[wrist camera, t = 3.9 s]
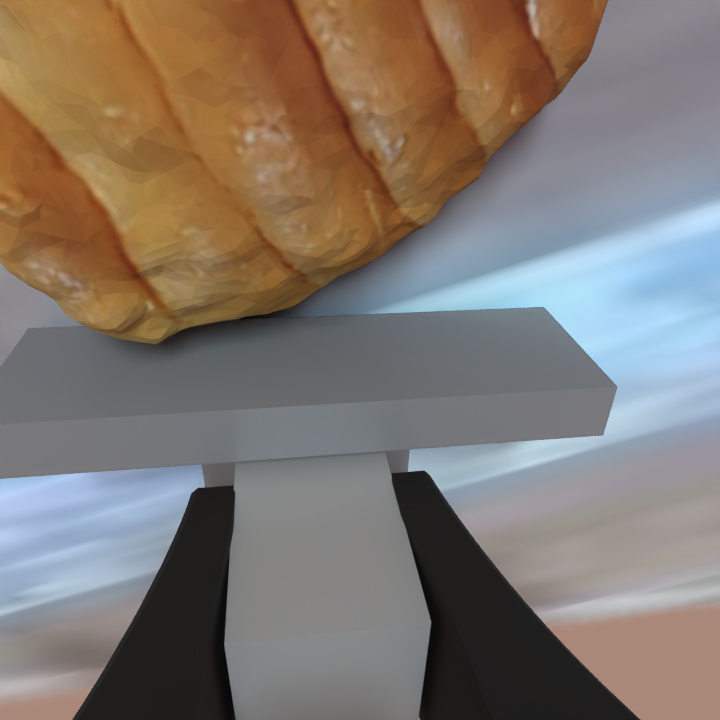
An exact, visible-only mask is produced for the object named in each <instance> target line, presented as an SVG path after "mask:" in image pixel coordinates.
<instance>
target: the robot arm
mask: <svg viewBox="0 0 720 720" xmlns="http://www.w3.org/2000/svg"><path fill="white" fill-rule="evenodd" d="M391 476H392V479H391V480H392V484H393V488H394V492H395V495H396V499H397V503H398V506H399V510H400V514H401V517H402V520H403V522H404V525H405V527H406V531H407V534H408V538H409V542H410V546H411V549H412V553H413V557H414V560H415V564H416V568H417V571H418V575H419V579H420V582H421V586H422V590H423V593H424V597H425V601H426V604H427V608H428V612H429V615H430V619H431V628H430V636H429V643H428V651H427V658H426V666H425V673H424V681H423V688H422V696H421V703H420V711H419V718H420V720H640V719H639V718H638V717H637V716H636V715H635V714H634V713H633V712H632V711H630V710H629V709H628V708H627V707H626V706H625V705H624V704H623V703H622V702H621V701H620V700H619V699H618V698H617V697H616V696H615V695H613V694H612V693H611V692H610V691H609V690H608V689H607V688H606V687H605V686H604V685H603V684H602V683H601V682H600V681H599V680H598V679H597V678H596V677H595V676H594V675H593V674H592V673H591V672H590V671H589V670H588V669H587V668H586V667H585V666H584V665H583V664H582V663H581V662H580V661H579V660H578V659H577V658H576V657H575V656H574V655H573V654H572V653H571V652H570V651H569V650H568V649H567V648H566V647H565V646H564V645H563V643H562V642H561V641H560V640H559V639H558V638H557V637H556V636H555V635H554V634H553V633H552V632H551V631H550V629H549V628H548V627H547V626H546V625H545V624H544V623H543V622H542V621H541V619H540V618H539V617H538V616H537V615H536V614H535V613H534V612H533V610H532V609H531V608H530V607H529V606H528V605H527V604H526V603H525V601H524V600H523V599H522V598H521V597H520V596H519V594H518V593H517V592H516V591H515V590H514V588H513V587H512V586H511V585H510V584H509V582H508V581H507V580H506V579H505V578H504V576H503V575H502V574H501V573H500V571H499V570H498V569H497V568H496V566H495V565H494V564H493V563H492V561H491V560H490V559H489V558H488V556H487V555H486V554H485V553H484V551H483V550H482V549H481V547H480V546H479V545H478V543H477V542H476V541H475V540H474V538H473V537H472V536H471V534H470V533H469V531H468V530H467V529H466V527H465V526H464V525H463V523H462V522H461V521H460V519H459V518H458V516H457V515H456V514H455V512H454V511H453V509H452V508H451V506H450V505H449V504H448V502H447V501H446V499H445V498H444V496H443V495H442V493H441V492H440V490H439V489H438V487H437V486H436V484H435V483H434V481H433V480H432V478H431V476H430V475H429V474H428V473H426V472H425V471H415V472H402V473H391ZM234 507H235V491H234V485H231V486H218V487H205V488H197V489H196V490H195V491H194V492H193V493H192V494H191V497H190V499H189V502H188V505H187V508H186V511H185V513H184V516H183V518H182V521H181V523H180V526H179V528H178V530H177V533H176V535H175V537H174V539H173V542H172V544H171V546H170V548H169V550H168V552H167V555H166V557H165V559H164V561H163V563H162V565H161V567H160V569H159V571H158V573H157V575H156V577H155V579H154V581H153V583H152V585H151V587H150V589H149V591H148V593H147V594H146V596H145V598H144V600H143V602H142V604H141V606H140V608H139V610H138V612H137V614H136V615H135V617H134V619H133V621H132V623H131V624H130V626H129V628H128V629H127V631H126V633H125V635H124V636H123V638H122V640H121V641H120V643H119V645H118V647H117V648H116V650H115V652H114V653H113V655H112V657H111V659H110V660H109V662H108V664H107V666H106V667H105V669H104V671H103V672H102V674H101V676H100V677H99V679H98V680H97V682H96V684H95V685H94V687H93V688H92V690H91V692H90V693H89V695H88V696H87V698H86V699H85V701H84V703H83V704H82V706H81V707H80V709H79V710H78V712H77V713H76V715H75V717H74V718H73V720H236V719H235V712H234V706H233V699H232V692H231V686H230V679H229V673H228V666H227V659H226V653H225V646H224V642H225V626H226V609H227V593H228V576H229V559H230V546H231V540H232V535H233V525H234Z"/></svg>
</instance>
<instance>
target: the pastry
mask: <svg viewBox="0 0 720 720" xmlns="http://www.w3.org/2000/svg"><path fill="white" fill-rule="evenodd" d="M607 1H608V0H0V262H1V264H2V265H3V266H4V267H5V268H6V269H7V271H8V272H10V273H11V274H13V275H14V276H16V277H17V278H19V279H20V280H21V281H23V282H24V283H26V284H27V285H29V286H31V287H33V288H35V289H37V290H39V291H41V292H43V293H45V294H46V295H48V296H49V297H51V298H52V299H54V300H55V301H56V302H57V303H58V305H59V306H60V307H61V309H62V310H63V311H64V313H65V314H66V315H68V316H70V317H71V318H73V319H75V320H76V321H78V322H80V323H81V324H83V325H85V326H86V327H88V328H90V329H92V330H94V331H96V332H99V333H102V334H106V335H109V336H112V337H114V338H116V339H121V340H128V341H136V342H143V343H150V344H157V343H159V342H161V341H163V340H164V339H166V338H167V337H169V336H171V335H173V334H175V333H177V332H179V331H181V330H183V329H186V328H189V327H194V326H199V325H204V324H209V323H214V322H220V321H227V320H236V319H240V318H243V317H246V316H255V315H263V314H269V313H271V312H275V311H278V310H282V309H286V308H290V307H293V306H294V305H296V304H298V303H299V302H301V301H302V300H304V299H305V298H307V297H308V296H310V295H311V294H313V293H314V292H315V291H317V290H319V289H321V288H322V287H324V286H326V285H327V284H328V283H330V282H331V281H332V280H334V279H335V278H336V277H338V276H340V275H342V274H345V273H347V272H350V271H353V270H356V269H358V268H360V267H362V266H364V265H366V264H368V263H369V262H371V261H373V260H374V259H376V258H378V257H380V256H382V255H384V254H385V253H386V252H387V251H388V250H389V249H390V248H391V247H392V246H393V245H394V244H396V243H397V242H398V241H400V240H401V239H402V238H403V237H405V236H406V235H407V234H409V233H412V232H414V231H416V230H418V229H420V228H422V227H424V226H426V225H427V224H428V223H429V222H430V221H431V220H432V219H434V218H435V216H436V215H437V214H438V212H439V211H440V210H441V208H442V207H443V206H444V204H445V203H446V202H447V201H448V200H449V199H450V198H451V197H452V196H454V195H455V194H457V193H459V192H460V191H462V190H463V189H464V188H466V187H467V186H468V185H470V184H471V183H472V182H474V181H475V180H476V179H478V177H479V176H480V174H481V172H482V171H483V169H484V167H485V165H486V163H487V161H488V159H489V157H490V156H491V155H493V154H494V153H495V152H496V151H498V150H499V149H500V148H501V146H502V145H503V143H504V142H505V141H506V140H507V139H508V138H509V137H510V136H511V135H513V134H514V133H515V132H516V131H517V130H519V129H520V128H521V127H522V126H524V125H525V124H526V123H527V122H528V121H529V120H531V119H532V118H533V117H534V116H535V115H537V114H538V113H539V112H540V111H541V109H542V108H543V107H544V106H545V105H547V104H548V103H550V102H551V101H553V100H554V99H555V98H556V97H557V96H558V95H559V94H560V93H561V92H562V91H563V89H564V88H565V87H566V85H567V84H568V82H569V81H570V79H571V78H572V77H573V75H574V74H575V73H576V72H577V70H578V69H579V68H580V67H581V65H582V64H583V63H584V62H585V61H586V60H587V58H588V56H589V54H590V52H591V50H592V47H593V44H594V41H595V38H596V35H597V32H598V29H599V26H600V23H601V20H602V17H603V14H604V11H605V8H606V4H607Z"/></svg>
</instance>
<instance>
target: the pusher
mask: <svg viewBox="0 0 720 720" xmlns="http://www.w3.org/2000/svg"><path fill="white" fill-rule="evenodd" d="M616 389H617V386H616V385H615V384H614V383H613V381H612V380H611V379H610V378H609V377H608V376H607V375H606V374H605V373H604V372H603V371H602V370H601V368H600V367H599V366H598V365H597V364H596V363H595V362H594V361H593V360H592V359H591V358H590V357H589V355H588V354H587V353H586V352H585V351H584V350H583V349H582V348H581V347H580V346H579V345H578V344H577V342H576V341H575V340H574V339H573V338H572V337H571V336H570V335H569V334H568V333H567V332H566V331H565V329H564V328H563V327H562V326H561V325H560V324H559V323H558V322H557V321H556V320H555V319H554V318H553V316H552V315H551V314H550V313H549V312H548V311H547V310H546V309H545V308H544V307H533V308H509V309H485V310H461V311H437V312H413V313H389V314H364V315H340V316H316V317H292V318H268V319H244V320H227V321H220V322H214V323H209V324H204V325H199V326H194V327H189V328H186V329H183V330H181V331H179V332H177V333H175V334H173V335H171V336H169V337H167V338H166V339H164V340H163V341H161V342H159V343H157V344H150V343H143V342H136V341H128V340H121V339H116V338H114V337H112V336H109V335H106V334H102V333H99V332H96V331H94V330H92V329H90V328H88V327H86V326H75V327H51V328H28V330H27V331H26V333H25V334H24V335H23V337H22V338H21V340H20V341H19V342H18V344H17V345H16V346H15V348H14V349H13V351H12V352H11V353H10V355H9V356H8V358H7V359H6V360H5V362H4V363H3V365H2V366H1V367H0V479H3V478H17V477H31V476H45V475H58V474H72V473H86V472H100V471H114V470H128V469H142V468H156V467H170V466H183V465H197V464H202V468H203V475H204V481H205V487H218V486H231V485H234V491H235V507H234V525H233V535H232V540H231V546H230V559H229V576H228V593H227V609H226V626H225V642H224V646H225V653H226V659H227V666H228V673H229V679H230V686H231V692H232V699H233V706H234V712H235V719H236V720H418V718H419V711H420V703H421V696H422V688H423V681H424V673H425V666H426V658H427V651H428V643H429V636H430V628H431V619H430V615H429V612H428V608H427V604H426V601H425V597H424V593H423V590H422V586H421V582H420V579H419V575H418V571H417V568H416V564H415V560H414V557H413V553H412V549H411V546H410V542H409V538H408V534H407V531H406V527H405V525H404V522H403V520H402V517H401V514H400V510H399V506H398V503H397V499H396V495H395V492H394V488H393V484H392V480H391V479H392V476H391V473H402V472H408V460H409V449H420V448H434V447H447V446H461V445H475V444H489V443H503V442H517V441H531V440H545V439H559V438H572V437H586V436H600V435H603V434H604V431H605V427H606V424H607V420H608V417H609V413H610V410H611V407H612V403H613V400H614V396H615V393H616Z"/></svg>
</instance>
